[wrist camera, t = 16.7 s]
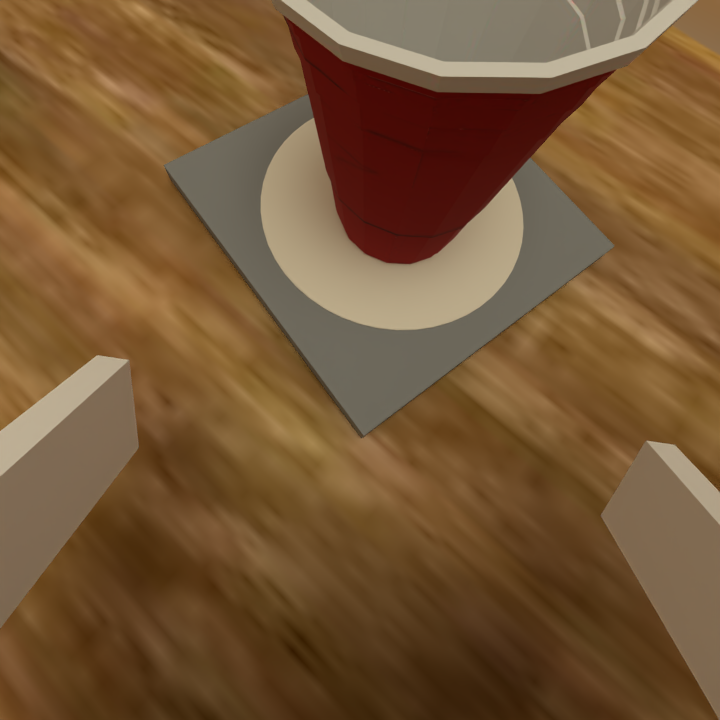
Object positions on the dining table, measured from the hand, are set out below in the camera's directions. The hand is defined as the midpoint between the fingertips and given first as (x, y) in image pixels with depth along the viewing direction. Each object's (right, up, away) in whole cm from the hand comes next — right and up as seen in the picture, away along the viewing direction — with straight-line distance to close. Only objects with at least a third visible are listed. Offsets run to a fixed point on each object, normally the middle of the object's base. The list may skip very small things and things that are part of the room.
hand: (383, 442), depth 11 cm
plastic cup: (+1, +9, +10) cm, 14 cm away
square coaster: (+1, +9, +11) cm, 14 cm away
